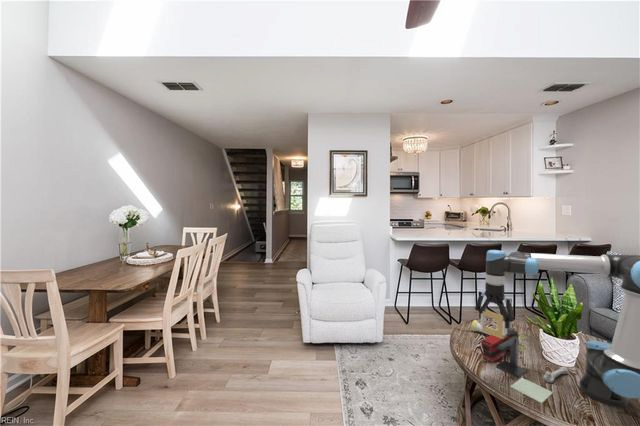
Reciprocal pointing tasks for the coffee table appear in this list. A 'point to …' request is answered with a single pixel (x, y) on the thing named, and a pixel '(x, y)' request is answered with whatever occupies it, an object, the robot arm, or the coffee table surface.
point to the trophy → (477, 327)
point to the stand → (511, 359)
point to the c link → (500, 324)
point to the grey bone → (554, 374)
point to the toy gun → (496, 346)
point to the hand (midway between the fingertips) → (493, 330)
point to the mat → (531, 390)
